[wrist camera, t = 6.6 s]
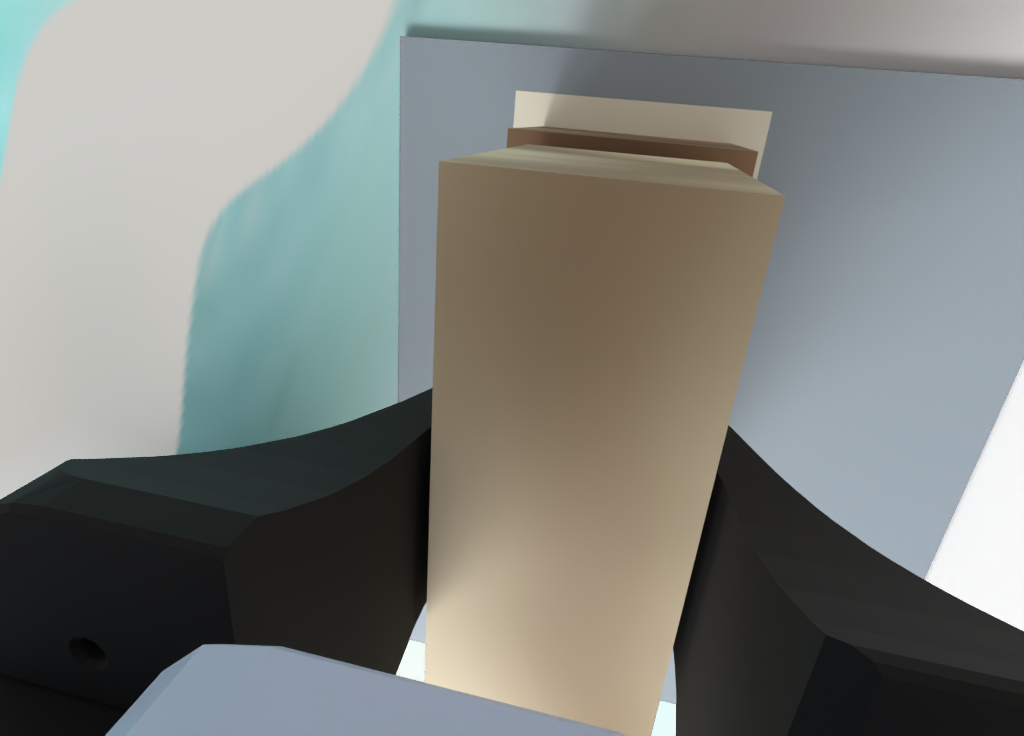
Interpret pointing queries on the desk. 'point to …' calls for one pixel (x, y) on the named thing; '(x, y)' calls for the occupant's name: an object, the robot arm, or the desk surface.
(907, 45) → the desk surface
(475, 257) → the tan rectangular block
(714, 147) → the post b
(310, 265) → the desk surface
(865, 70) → the board
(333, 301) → the desk surface
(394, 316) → the desk surface
